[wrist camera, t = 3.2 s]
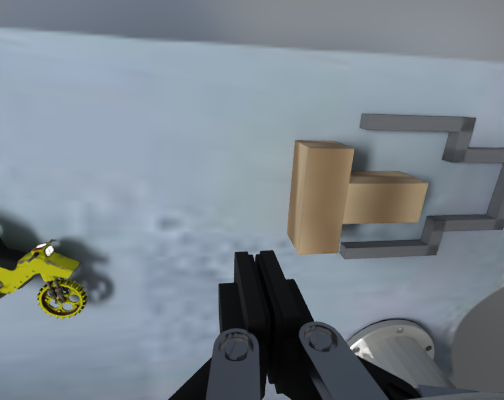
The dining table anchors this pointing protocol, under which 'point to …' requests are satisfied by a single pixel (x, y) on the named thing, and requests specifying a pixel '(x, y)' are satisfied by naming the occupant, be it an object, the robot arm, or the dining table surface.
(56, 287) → the toy motorcycle
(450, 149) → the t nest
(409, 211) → the oak t block
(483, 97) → the dining table surface
